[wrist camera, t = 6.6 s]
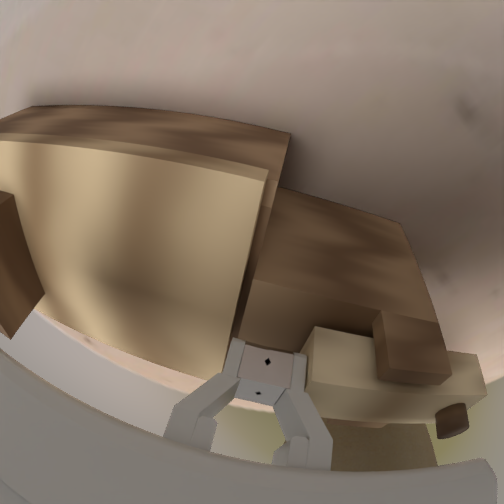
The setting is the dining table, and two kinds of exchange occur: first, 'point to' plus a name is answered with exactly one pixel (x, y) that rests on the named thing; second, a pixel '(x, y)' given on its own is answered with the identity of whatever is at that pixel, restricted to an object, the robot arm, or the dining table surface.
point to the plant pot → (380, 447)
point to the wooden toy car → (385, 386)
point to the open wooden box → (290, 245)
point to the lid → (127, 244)
